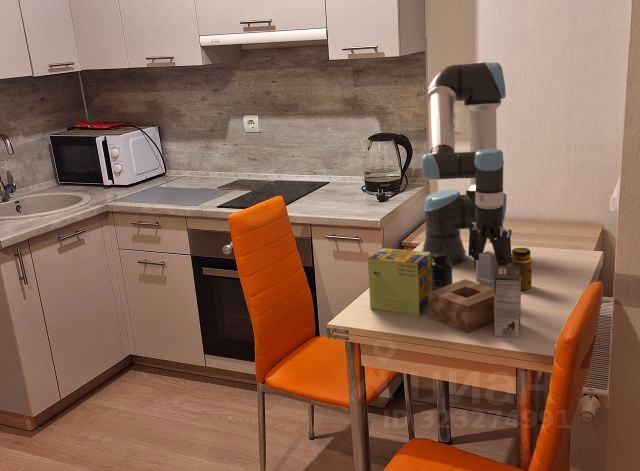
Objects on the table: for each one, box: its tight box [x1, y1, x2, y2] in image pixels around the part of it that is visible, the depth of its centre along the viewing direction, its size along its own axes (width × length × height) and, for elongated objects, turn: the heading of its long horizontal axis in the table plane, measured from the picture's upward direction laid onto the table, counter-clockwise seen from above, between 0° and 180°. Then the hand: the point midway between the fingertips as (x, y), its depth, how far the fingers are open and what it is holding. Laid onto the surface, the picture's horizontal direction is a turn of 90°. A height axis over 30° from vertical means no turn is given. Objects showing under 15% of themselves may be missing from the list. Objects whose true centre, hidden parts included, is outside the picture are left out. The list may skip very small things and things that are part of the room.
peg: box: [478, 250, 498, 288], centre depth 191 cm, size 4×4×14 cm
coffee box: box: [494, 265, 522, 338], centre depth 171 cm, size 9×6×16 cm
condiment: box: [509, 247, 539, 295], centre depth 198 cm, size 7×8×12 cm
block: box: [428, 278, 495, 334], centre depth 181 cm, size 14×14×8 cm
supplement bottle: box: [431, 251, 454, 291], centre depth 200 cm, size 7×7×12 cm
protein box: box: [367, 247, 432, 316], centre depth 191 cm, size 10×15×16 cm
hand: (489, 283), depth 191 cm, fingers open, 6 cm apart
